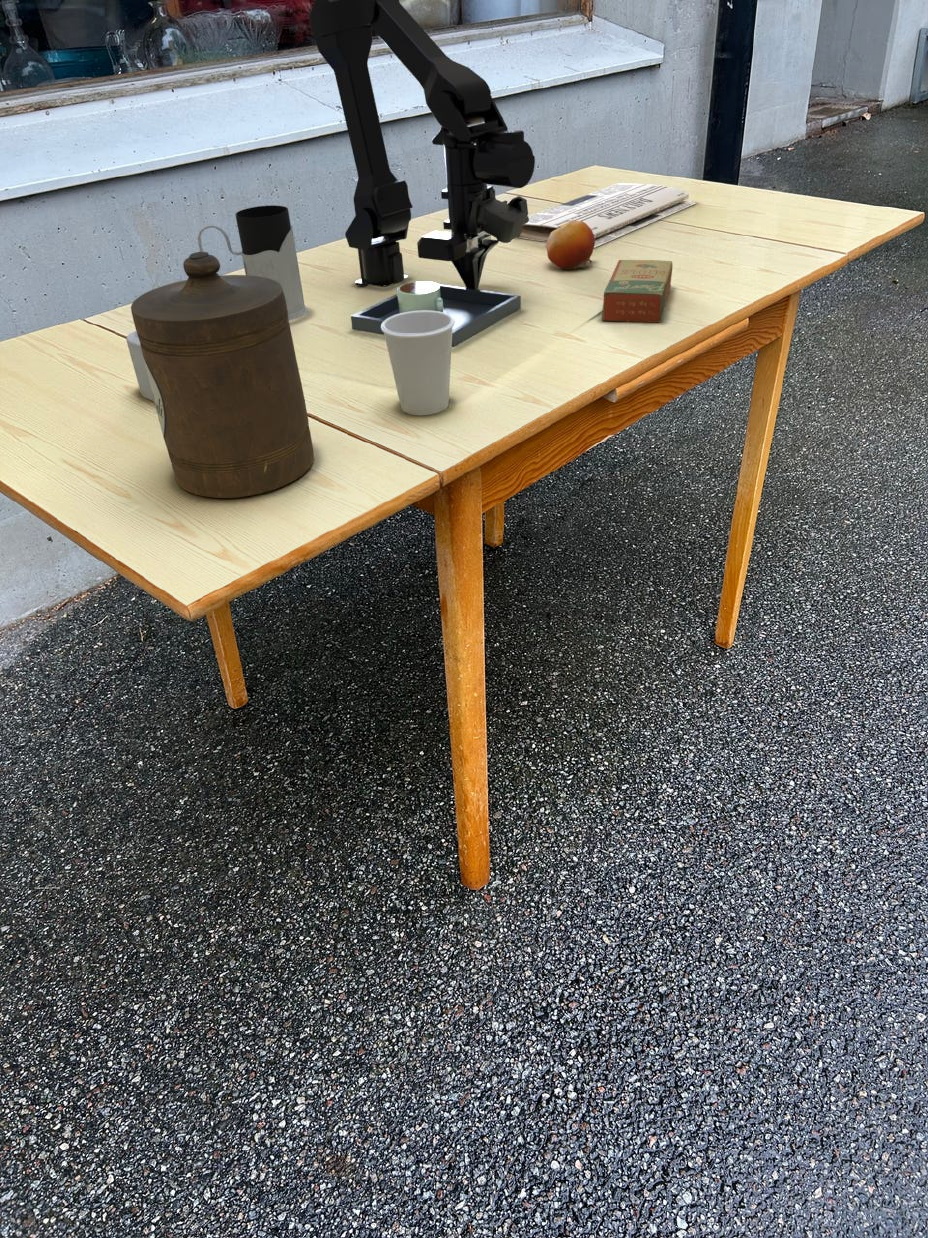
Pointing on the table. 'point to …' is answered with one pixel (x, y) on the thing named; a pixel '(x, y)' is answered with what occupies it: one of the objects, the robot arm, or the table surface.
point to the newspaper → (610, 211)
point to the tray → (449, 311)
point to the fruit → (571, 245)
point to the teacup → (419, 297)
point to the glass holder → (269, 251)
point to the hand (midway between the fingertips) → (473, 292)
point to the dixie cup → (420, 359)
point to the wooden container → (225, 381)
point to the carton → (637, 291)
